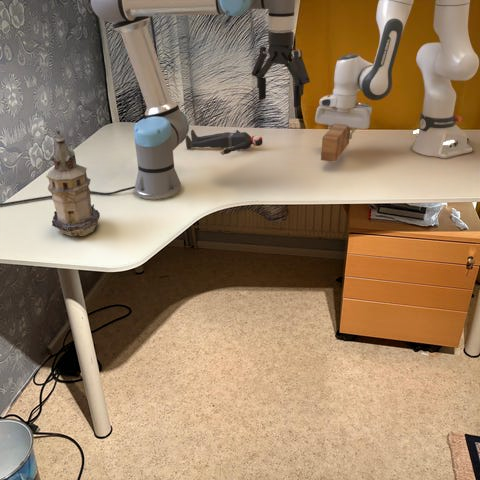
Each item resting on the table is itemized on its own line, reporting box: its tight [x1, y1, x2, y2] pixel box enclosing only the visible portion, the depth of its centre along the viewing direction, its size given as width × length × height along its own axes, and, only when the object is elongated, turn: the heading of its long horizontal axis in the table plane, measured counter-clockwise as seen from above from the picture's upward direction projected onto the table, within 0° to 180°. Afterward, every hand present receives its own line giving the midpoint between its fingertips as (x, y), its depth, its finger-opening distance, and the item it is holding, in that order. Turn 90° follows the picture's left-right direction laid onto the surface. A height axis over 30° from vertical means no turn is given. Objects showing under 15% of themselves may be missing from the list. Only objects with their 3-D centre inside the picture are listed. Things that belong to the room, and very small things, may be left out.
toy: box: [185, 129, 264, 156], centre depth 213 cm, size 26×6×30 cm
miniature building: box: [46, 129, 101, 237], centre depth 148 cm, size 13×14×30 cm
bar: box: [320, 124, 351, 163], centre depth 196 cm, size 22×5×8 cm, turn 157°
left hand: (279, 102), depth 169 cm, fingers open, 13 cm apart
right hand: (340, 137), depth 202 cm, fingers closed on bar, 5 cm apart
